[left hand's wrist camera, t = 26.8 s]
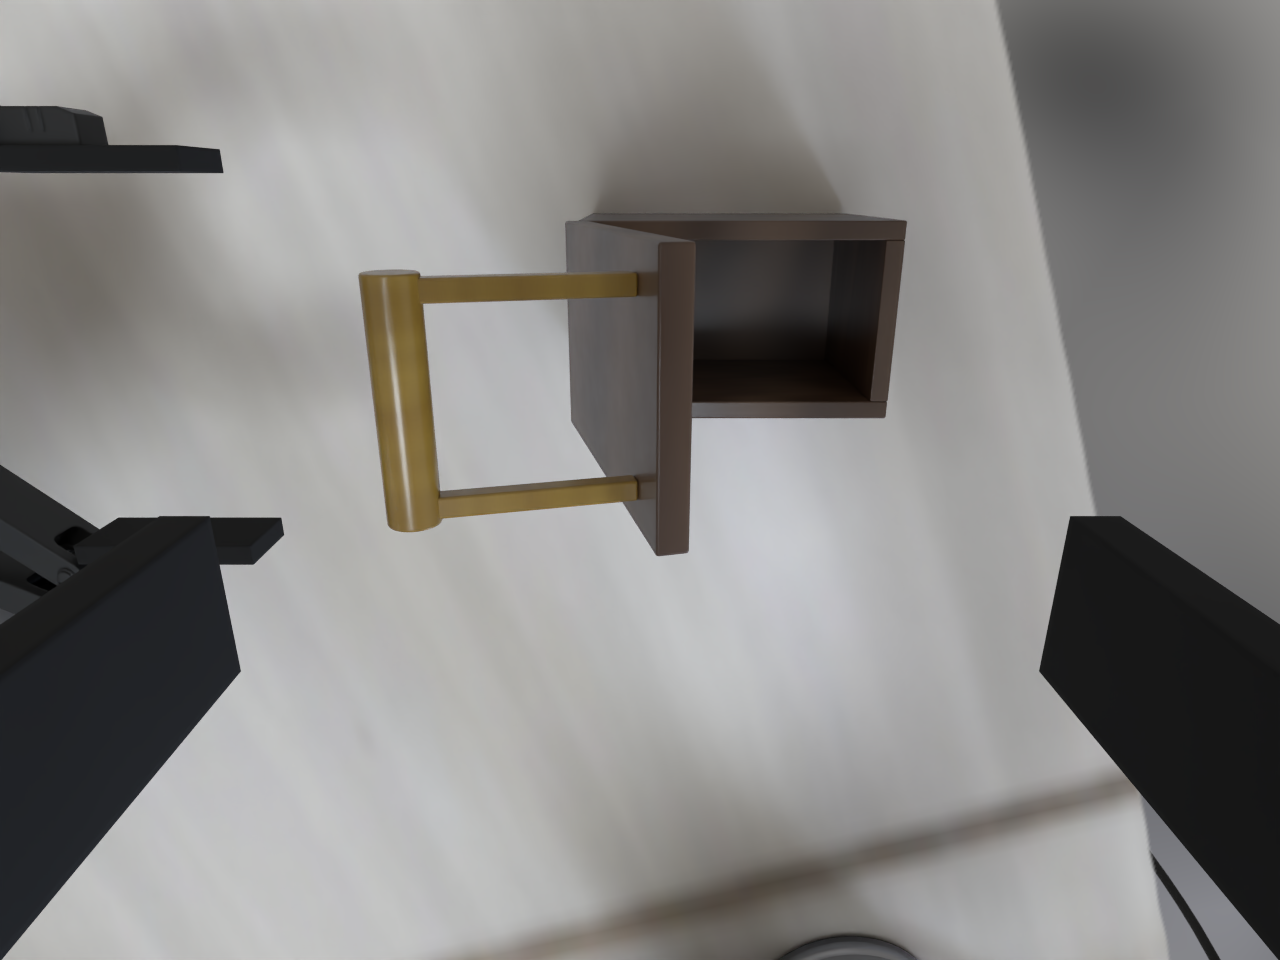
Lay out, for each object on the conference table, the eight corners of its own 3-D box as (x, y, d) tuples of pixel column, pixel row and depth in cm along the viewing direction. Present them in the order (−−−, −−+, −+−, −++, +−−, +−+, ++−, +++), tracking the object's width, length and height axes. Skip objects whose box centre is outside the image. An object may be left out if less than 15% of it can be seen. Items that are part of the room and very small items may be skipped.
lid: (696, 241, 21) (345, 246, 19) (689, 554, 24) (387, 587, 22) (588, 220, 35) (379, 222, 33) (592, 420, 38) (401, 433, 36)
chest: (847, 213, 46) (907, 220, 36) (834, 370, 49) (885, 418, 39) (592, 213, 46) (577, 220, 36) (595, 370, 49) (582, 418, 39)
